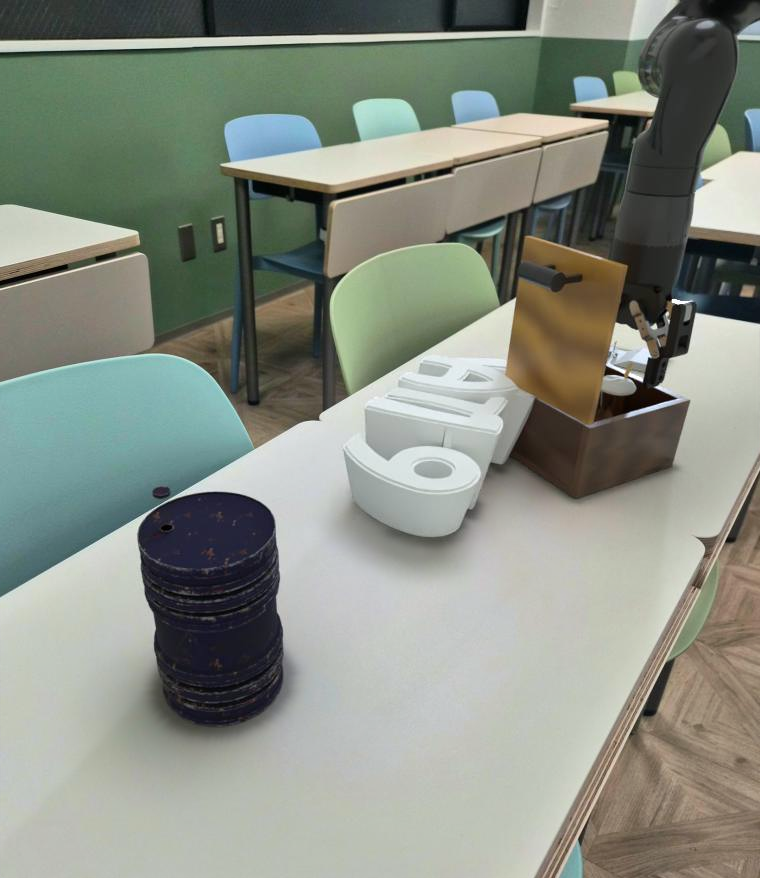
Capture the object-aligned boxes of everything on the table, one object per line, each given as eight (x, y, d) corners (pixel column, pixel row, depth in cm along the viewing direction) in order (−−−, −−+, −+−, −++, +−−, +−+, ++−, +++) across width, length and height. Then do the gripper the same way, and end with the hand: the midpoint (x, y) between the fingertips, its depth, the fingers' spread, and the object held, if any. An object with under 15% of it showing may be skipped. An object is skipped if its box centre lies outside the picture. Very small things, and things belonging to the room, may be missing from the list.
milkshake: (631, 442, 93) (648, 369, 88) (612, 456, 90) (629, 381, 85) (598, 430, 96) (613, 359, 91) (578, 444, 92) (593, 370, 87)
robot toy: (651, 373, 115) (655, 358, 114) (578, 356, 121) (581, 342, 120) (665, 360, 120) (669, 345, 119) (594, 344, 126) (597, 330, 125)
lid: (530, 235, 80) (493, 239, 78) (628, 265, 70) (588, 271, 68) (509, 378, 89) (475, 385, 87) (593, 424, 79) (557, 433, 76)
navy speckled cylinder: (288, 636, 64) (280, 455, 54) (281, 727, 55) (271, 531, 46) (173, 637, 63) (145, 455, 54) (149, 728, 55) (111, 532, 46)
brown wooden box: (589, 421, 100) (602, 360, 96) (672, 466, 90) (690, 399, 85) (497, 447, 94) (506, 382, 89) (575, 499, 83) (590, 428, 79)
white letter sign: (446, 404, 103) (451, 332, 98) (561, 432, 96) (573, 356, 91) (308, 521, 78) (305, 432, 72) (450, 571, 70) (459, 476, 65)
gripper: (730, 244, 76) (693, 388, 84) (625, 219, 86) (600, 350, 95) (681, 253, 73) (647, 402, 81) (577, 226, 83) (557, 360, 92)
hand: (622, 374), depth 88 cm, fingers open, 8 cm apart
